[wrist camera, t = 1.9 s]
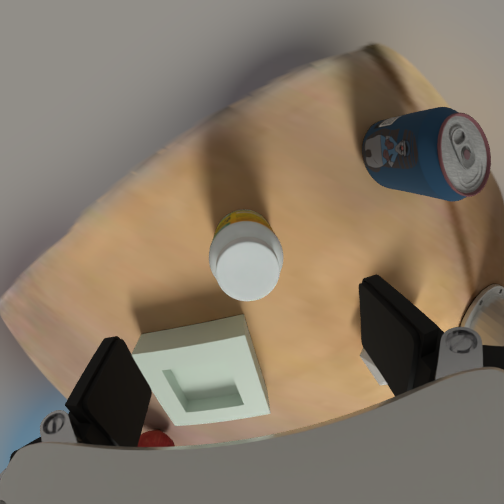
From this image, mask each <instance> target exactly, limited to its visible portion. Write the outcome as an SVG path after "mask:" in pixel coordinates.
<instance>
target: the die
mask: <svg viewBox="0 0 504 504" xmlns="http://www.w3.org/2000/svg"><path fill="white" fill-rule="evenodd" d="M360 357H361V358H362V360H363V361H364V363H365V364H366V366H367V367H368V369H369V370H370V372H371V373H372V375H373V376H374V377H375V379H376V380H377V382H378V383H379V385H388V384H387V383H386V381H385V380H384V378H383V376H382V375H381V373H380V372H379V370H378V369H377V367H376V366H375V364H374V363H373V361H372V360H371V358H370V357H369V355H368V354H367V352H366V351H365V349H364V348H363V350H362V352H361V354H360Z"/></svg>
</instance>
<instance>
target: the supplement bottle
mask: <svg viewBox="0 0 504 504" xmlns="http://www.w3.org/2000/svg"><path fill="white" fill-rule="evenodd" d="M209 264H210V268H211V271H212V273H213V275H214V277H215V278H216V279H217V281H218V284H219V286H220V287H221V289H222V290H223V291H224V292H225V293H226V294H227V295H229V296H230V297H232V298H234V299H237V300H241V301H254V300H258V299H260V298H263V297H264V296H266V295H267V294H269V293H270V292H271V291H272V290H273V288H274V287H275V286H276V284H277V282H278V279H279V274H280V271H281V268H282V264H283V250H282V246H281V244H280V242H279V240H278V238H277V236H276V235H275V233H274V232H273V230H272V228H271V227H270V225H269V224H268V222H267V221H266V220H265V218H264V217H263V216H261V215H260V214H258V213H257V212H254V211H251V210H245V209H244V210H237V211H234V212H232V213H230V214H228V215H226V216H225V217H224V218H223V219H222V220H221V221H220V223H219V224H218V226H217V229H216V232H215V235H214V238H213V241H212V243H211V246H210V251H209Z"/></svg>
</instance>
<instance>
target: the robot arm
mask: <svg viewBox="0 0 504 504" xmlns="http://www.w3.org/2000/svg"><path fill="white" fill-rule="evenodd" d="M359 298H360V315H361V340H362V345H363V347H364V349H365V351H366V352H367V354H368V355H369V357H370V358H371V360H372V361H373V363H374V364H375V366H376V367H377V369H378V370H379V372H380V373H381V375H382V376H383V378H384V380H385V381H386V383H387V384H388V386H389V387H390V389H391V390H392V392H393V394H394V395H395V397H393V398H391V399H388V400H386V401H383V402H381V403H378V404H375V405H373V406H370V407H367V408H364V409H361V410H359V411H356V412H353V413H350V414H347V415H344V416H341V417H338V418H335V419H331V420H328V421H325V422H321V423H318V424H314V425H310V426H307V427H303V428H299V429H295V430H290V431H286V432H281V433H277V434H272V435H267V436H262V437H256V438H250V439H244V440H238V441H231V442H223V443H214V444H204V445H192V446H174V447H138V443H139V439H140V435H141V431H142V427H143V424H144V420H145V416H146V413H147V409H148V405H149V402H150V398H151V394H152V392H151V388H150V386H149V384H148V382H147V381H146V379H145V377H144V376H143V374H142V372H141V371H140V369H139V367H138V365H137V364H136V362H135V360H134V358H133V357H132V355H131V353H130V351H129V349H128V347H127V345H126V344H125V342H124V340H122V339H120V338H119V337H117V336H116V337H109V338H105V339H104V340H103V341H102V343H101V344H100V346H99V348H98V349H97V351H96V352H95V354H94V356H93V357H92V359H91V360H90V362H89V364H88V365H87V367H86V369H85V370H84V372H83V374H82V376H81V377H80V379H79V381H78V382H77V384H76V386H75V388H74V389H73V391H72V393H71V395H70V396H69V398H68V400H67V402H66V404H65V406H66V407H67V408H68V409H69V411H70V412H69V414H67V413H66V412H65V411H61V410H57V411H54V412H51V413H50V414H48V415H47V416H46V417H45V418H44V419H43V421H42V422H41V425H40V433H41V437H39V438H38V439H36V440H34V441H32V442H31V443H29V444H27V445H25V446H24V447H22V448H20V449H18V450H16V451H14V452H13V453H12V454H11V457H10V462H9V464H8V466H7V468H6V469H5V470H4V471H3V472H2V473H1V474H0V504H504V287H502V286H501V285H499V284H493V285H490V286H488V287H487V288H485V289H484V290H483V291H482V292H481V293H480V294H479V295H478V296H477V297H476V298H475V300H474V301H473V302H472V304H471V305H470V307H469V308H468V310H467V312H466V314H465V316H464V318H463V320H462V323H461V326H460V327H455V328H451V329H449V330H447V331H446V332H445V333H444V332H443V331H442V330H441V329H440V328H439V327H438V326H437V325H436V324H435V323H434V322H433V321H431V320H430V319H429V318H428V317H427V316H426V315H425V314H424V313H422V312H421V311H420V310H419V309H418V308H417V307H416V306H414V305H413V304H412V303H411V302H410V301H409V300H408V299H406V298H405V297H404V296H403V295H402V294H400V293H399V292H398V291H397V290H396V289H395V288H393V287H392V286H391V285H390V284H389V283H387V282H386V281H385V280H384V279H383V278H381V277H380V276H379V275H373V276H370V277H367V278H364V279H363V281H362V283H360V284H359Z"/></svg>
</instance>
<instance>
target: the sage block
mask: <svg viewBox="0 0 504 504" xmlns="http://www.w3.org/2000/svg"><path fill="white" fill-rule="evenodd" d="M131 355H132V357H133V358H134V360H135V362H136V364H137V365H138V367H139V369H140V371H141V372H142V374H143V376H144V377H145V379H146V381H147V382H148V384H149V386H150V388H151V390H152V392H153V393H154V395H155V396H156V398H157V399H158V401H159V403H160V404H161V406H162V407H163V409H164V410H165V412H166V413H167V415H168V416H169V418H170V419H171V420H172V422H173V423H174V425H175V426H182V425H195V424H205V423H214V422H222V421H230V420H236V419H243V418H249V417H254V416H260V415H265V414H270V407H269V400H268V393H267V388H266V385H265V382H264V379H263V376H262V373H261V369H260V366H259V363H258V360H257V356H256V353H255V350H254V347H253V343H252V340H251V337H250V333H249V330H248V327H247V323H246V320H245V316H244V314H242V315H237V316H233V317H228V318H224V319H219V320H214V321H209V322H204V323H200V324H195V325H189V326H184V327H179V328H174V329H168V330H163V331H157V332H151V333H145V334H141V336H140V338H139V340H138V342H137V344H136V346H135V348H134V350H133V352H132V354H131Z"/></svg>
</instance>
